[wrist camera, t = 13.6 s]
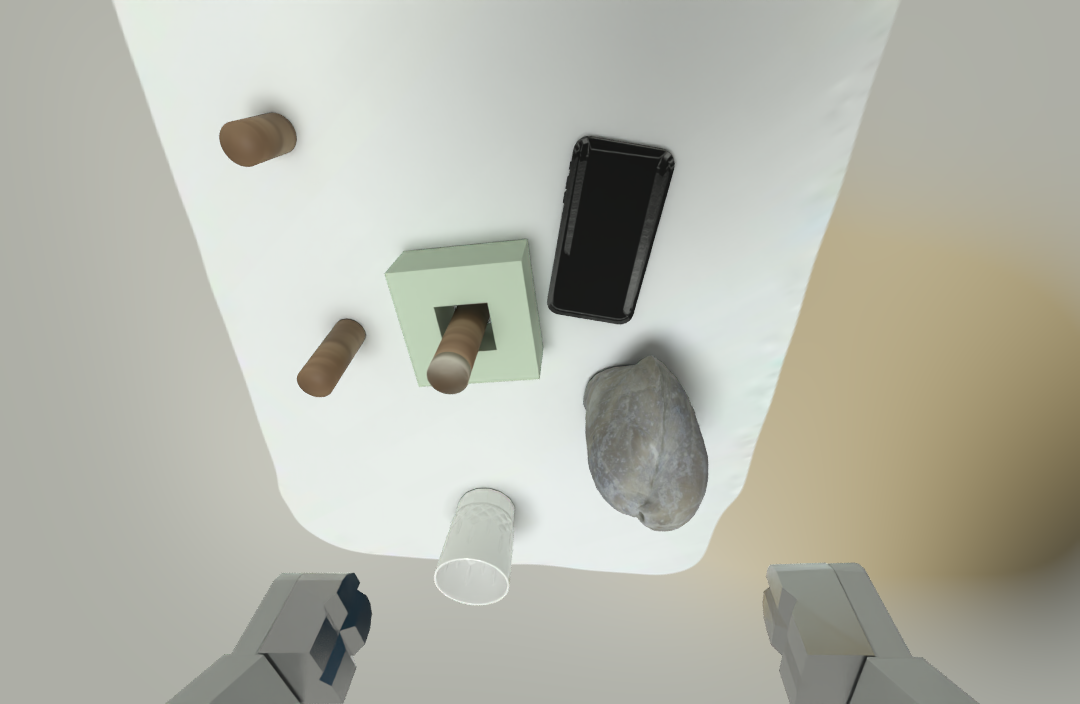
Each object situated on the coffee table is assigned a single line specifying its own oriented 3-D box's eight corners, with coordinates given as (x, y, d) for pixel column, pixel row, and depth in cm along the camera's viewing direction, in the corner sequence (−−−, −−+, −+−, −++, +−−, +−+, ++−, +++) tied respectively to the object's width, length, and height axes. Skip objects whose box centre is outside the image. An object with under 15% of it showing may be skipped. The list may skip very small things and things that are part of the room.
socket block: (403, 251, 44) (384, 273, 40) (527, 239, 43) (521, 260, 38) (432, 357, 50) (419, 386, 45) (543, 349, 48) (539, 379, 44)
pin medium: (328, 324, 48) (289, 374, 42) (354, 315, 48) (319, 364, 41) (345, 349, 50) (311, 400, 43) (371, 340, 49) (340, 391, 43)
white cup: (515, 533, 63) (505, 610, 54) (453, 524, 63) (433, 599, 54) (523, 489, 58) (512, 565, 50) (455, 479, 58) (434, 553, 50)
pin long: (457, 289, 46) (421, 360, 35) (490, 286, 45) (463, 357, 35) (464, 319, 47) (432, 395, 37) (495, 316, 47) (472, 392, 37)
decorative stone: (588, 330, 47) (590, 437, 34) (700, 335, 46) (745, 446, 34) (579, 451, 55) (578, 574, 42) (675, 457, 54) (703, 584, 42)
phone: (678, 152, 38) (630, 326, 45) (676, 150, 39) (629, 320, 46) (574, 134, 38) (544, 312, 45) (574, 132, 38) (544, 306, 46)
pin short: (252, 115, 39) (211, 124, 35) (287, 110, 39) (251, 118, 34) (267, 155, 41) (230, 169, 36) (302, 151, 40) (269, 164, 36)
